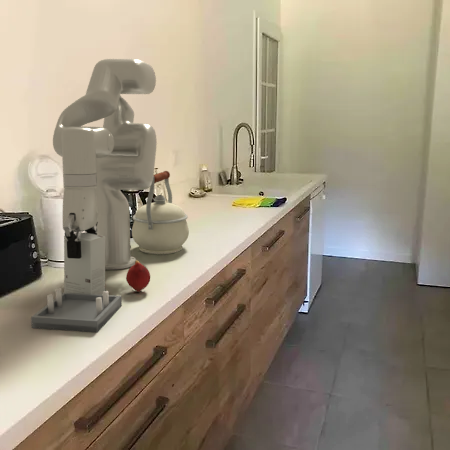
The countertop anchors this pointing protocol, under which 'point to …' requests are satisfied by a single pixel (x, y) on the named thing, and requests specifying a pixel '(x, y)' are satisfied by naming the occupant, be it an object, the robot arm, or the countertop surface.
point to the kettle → (160, 222)
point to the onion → (138, 276)
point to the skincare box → (86, 266)
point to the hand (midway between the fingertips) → (83, 253)
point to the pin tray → (76, 311)
